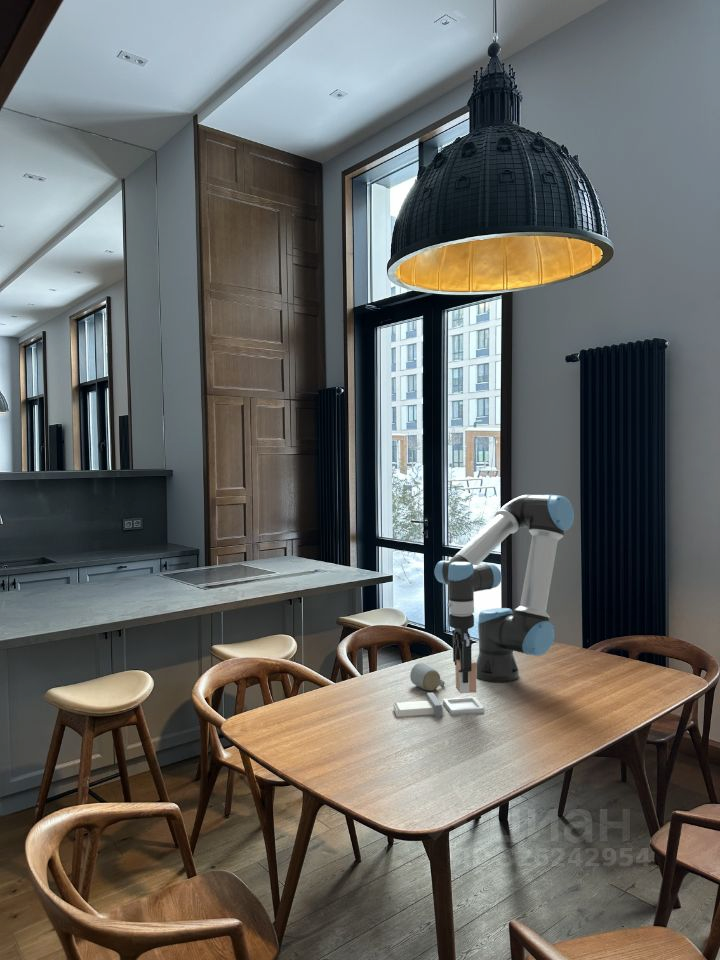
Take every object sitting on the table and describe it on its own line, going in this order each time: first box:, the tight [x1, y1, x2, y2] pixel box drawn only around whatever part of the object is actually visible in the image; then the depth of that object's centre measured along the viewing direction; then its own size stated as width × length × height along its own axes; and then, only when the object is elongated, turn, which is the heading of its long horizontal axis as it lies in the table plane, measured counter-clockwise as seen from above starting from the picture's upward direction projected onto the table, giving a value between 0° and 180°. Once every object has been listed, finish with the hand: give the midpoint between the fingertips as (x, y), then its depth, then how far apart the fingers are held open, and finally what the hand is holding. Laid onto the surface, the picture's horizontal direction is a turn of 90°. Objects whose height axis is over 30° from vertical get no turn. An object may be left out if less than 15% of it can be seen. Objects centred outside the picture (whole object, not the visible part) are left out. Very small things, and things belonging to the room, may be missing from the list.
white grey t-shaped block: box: [392, 692, 444, 718], centre depth 206 cm, size 14×11×4 cm
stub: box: [455, 658, 478, 694], centre depth 208 cm, size 5×4×9 cm
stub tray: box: [442, 696, 485, 716], centre depth 208 cm, size 10×10×2 cm
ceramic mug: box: [409, 662, 446, 692], centre depth 228 cm, size 11×8×8 cm
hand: (462, 690), depth 208 cm, fingers closed on stub, 4 cm apart
